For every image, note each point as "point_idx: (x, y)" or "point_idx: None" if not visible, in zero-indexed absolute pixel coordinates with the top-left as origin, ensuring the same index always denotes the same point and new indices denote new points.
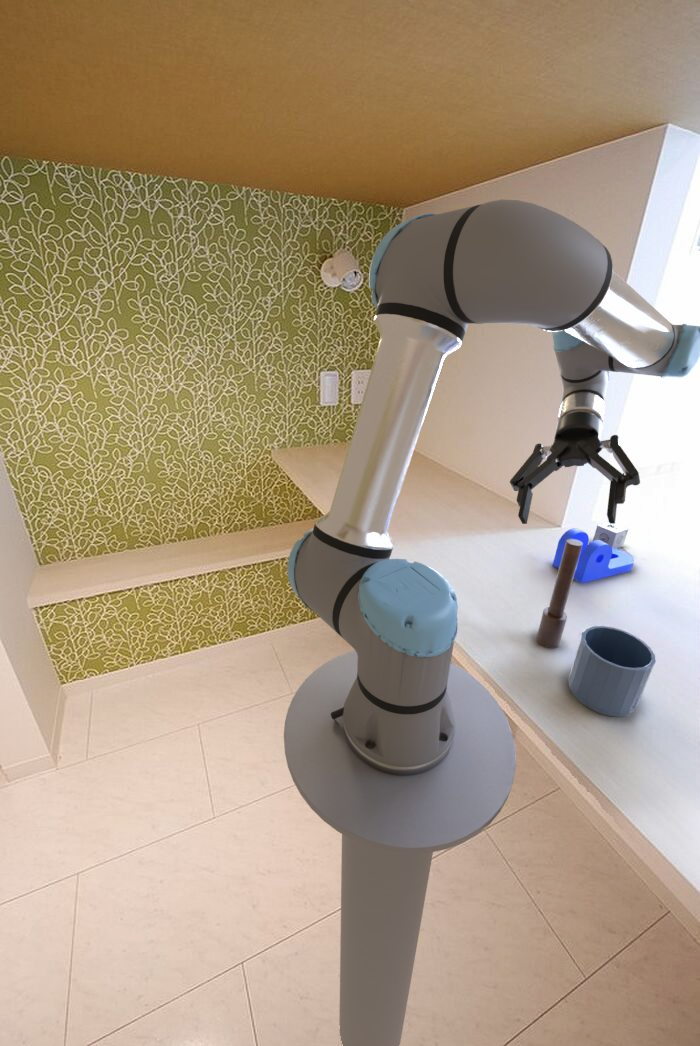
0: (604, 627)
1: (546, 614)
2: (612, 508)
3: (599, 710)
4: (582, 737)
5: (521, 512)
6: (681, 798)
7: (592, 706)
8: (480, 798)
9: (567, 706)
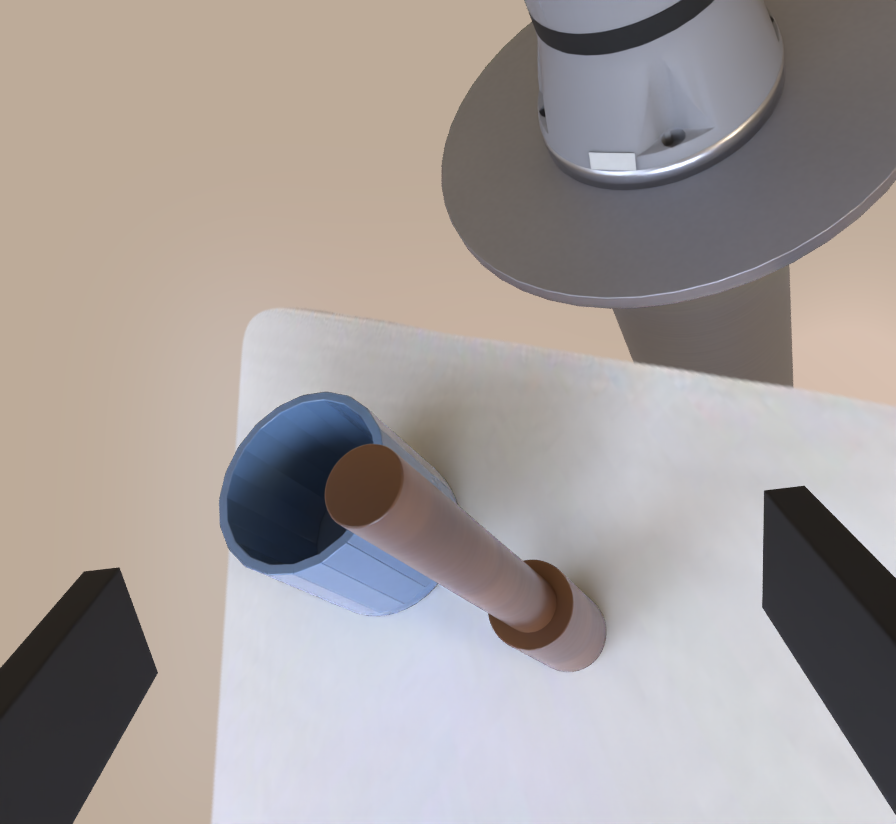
0: (338, 540)
1: (550, 569)
2: (59, 607)
3: None
4: (389, 381)
5: (794, 505)
6: (249, 404)
7: None
8: (468, 146)
9: (433, 427)
